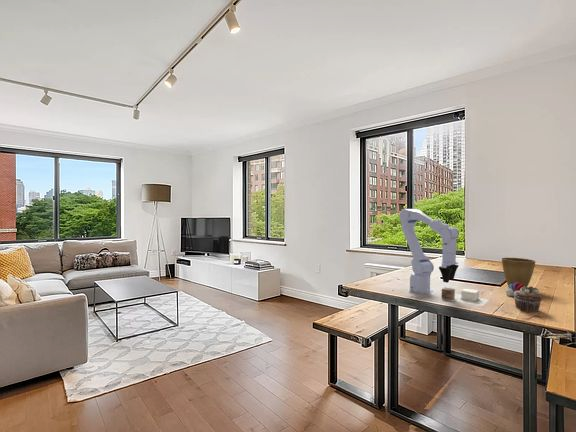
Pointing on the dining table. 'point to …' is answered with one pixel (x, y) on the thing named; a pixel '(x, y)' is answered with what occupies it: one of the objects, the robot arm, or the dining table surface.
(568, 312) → the dining table surface
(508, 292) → the multicoloured rounded cluster
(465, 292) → the base block
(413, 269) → the robot arm
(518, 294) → the cupcake
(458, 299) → the felt mat
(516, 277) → the plant pot
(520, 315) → the dining table surface
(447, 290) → the walnut cube
